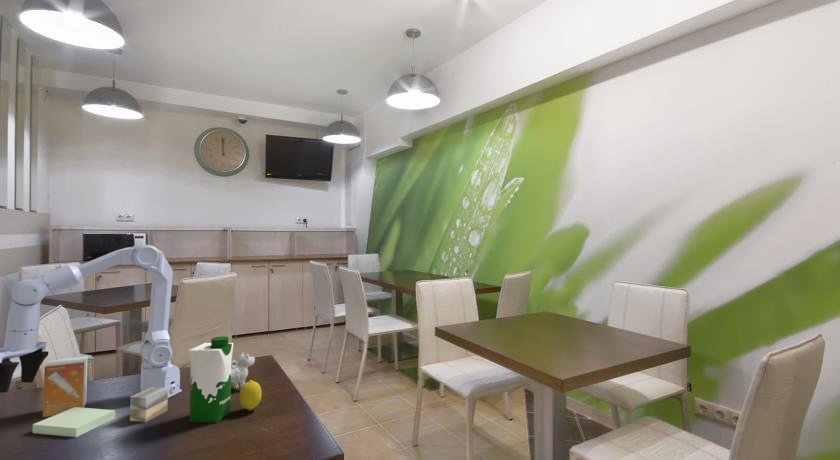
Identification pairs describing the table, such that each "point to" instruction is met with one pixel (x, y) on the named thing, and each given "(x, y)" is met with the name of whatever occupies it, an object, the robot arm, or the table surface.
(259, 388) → the lemon
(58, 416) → the stand
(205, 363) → the milk carton
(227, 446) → the table surface
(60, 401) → the small box
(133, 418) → the cream layered block
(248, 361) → the dog figurine
